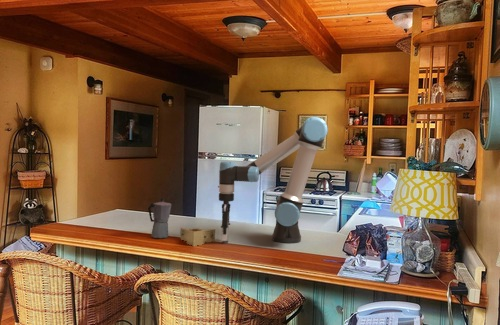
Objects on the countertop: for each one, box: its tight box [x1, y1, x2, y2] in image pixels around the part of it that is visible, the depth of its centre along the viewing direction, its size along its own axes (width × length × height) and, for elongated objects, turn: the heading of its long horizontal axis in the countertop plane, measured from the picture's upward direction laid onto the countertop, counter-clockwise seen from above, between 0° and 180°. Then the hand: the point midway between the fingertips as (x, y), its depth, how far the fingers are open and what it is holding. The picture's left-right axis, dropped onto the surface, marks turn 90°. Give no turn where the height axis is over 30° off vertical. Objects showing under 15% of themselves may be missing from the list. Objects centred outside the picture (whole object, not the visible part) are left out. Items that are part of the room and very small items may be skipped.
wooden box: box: [180, 227, 216, 247], centre depth 201 cm, size 15×15×7 cm
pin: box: [221, 215, 230, 244], centre depth 200 cm, size 4×4×13 cm
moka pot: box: [147, 198, 172, 239], centre depth 208 cm, size 10×15×20 cm, turn 149°
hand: (225, 239), depth 200 cm, fingers open, 5 cm apart
